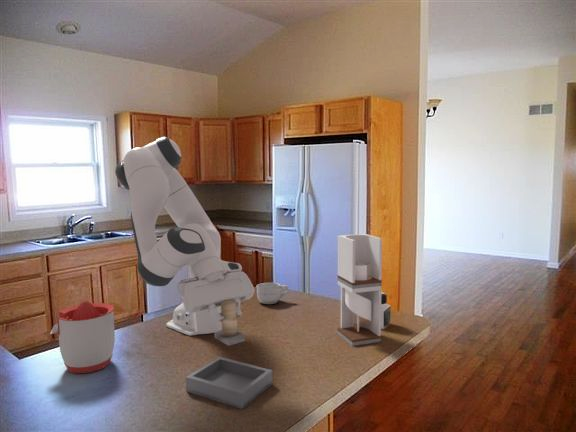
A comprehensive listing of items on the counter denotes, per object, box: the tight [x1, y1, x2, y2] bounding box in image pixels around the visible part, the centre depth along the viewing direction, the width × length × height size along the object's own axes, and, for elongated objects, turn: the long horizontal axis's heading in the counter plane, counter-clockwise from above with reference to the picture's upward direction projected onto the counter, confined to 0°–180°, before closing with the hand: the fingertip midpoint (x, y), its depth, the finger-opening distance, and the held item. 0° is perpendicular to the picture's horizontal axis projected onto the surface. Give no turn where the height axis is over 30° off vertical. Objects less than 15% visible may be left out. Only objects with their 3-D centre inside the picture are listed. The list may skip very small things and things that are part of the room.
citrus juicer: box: [49, 300, 116, 374], centre depth 129 cm, size 16×17×20 cm
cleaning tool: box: [214, 300, 246, 347], centre depth 115 cm, size 7×5×10 cm
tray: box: [185, 356, 273, 410], centre depth 116 cm, size 18×14×4 cm
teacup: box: [256, 282, 290, 305], centre depth 190 cm, size 14×11×8 cm
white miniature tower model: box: [337, 233, 383, 347], centre depth 148 cm, size 11×11×35 cm
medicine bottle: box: [381, 291, 391, 330], centre depth 162 cm, size 7×7×12 cm
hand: (230, 318), depth 114 cm, fingers closed on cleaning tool, 4 cm apart
